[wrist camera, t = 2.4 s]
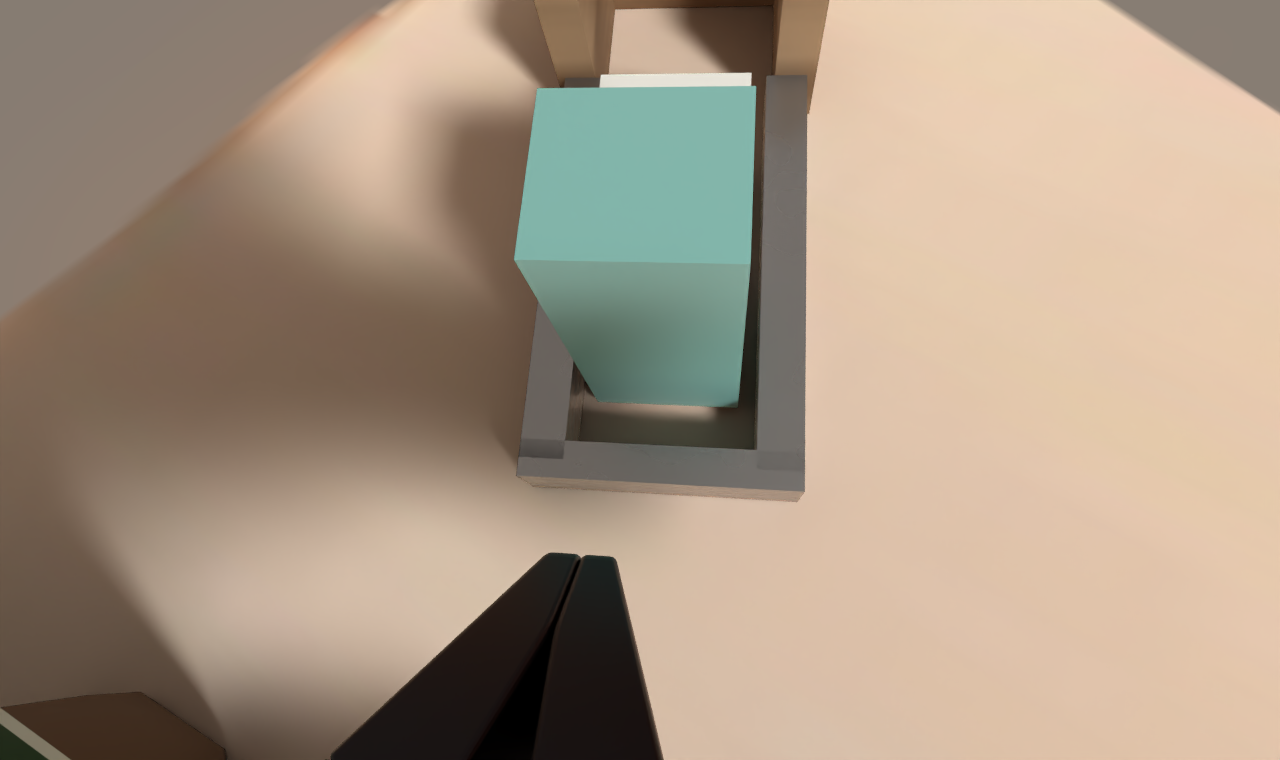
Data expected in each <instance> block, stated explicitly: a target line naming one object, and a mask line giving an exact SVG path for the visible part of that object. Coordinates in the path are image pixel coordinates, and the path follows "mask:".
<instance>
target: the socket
mask: <svg viewBox="0 0 1280 760" xmlns="http://www.w3.org/2000/svg"><path fill="white" fill-rule="evenodd" d="M534 3H535V6H536V10H537V13H538V16H539V19H540V23H541V26H542V29H543V32H544V36H545V39H546V42H547V45H548V49H549V52H550V55H551V59H552V62H553V65H554V68H555V72H556V75H557V78H558V81H559V85H560V88H564V85H565V78H601V75H608V72H609V62H610V53H611V43H612V33H613V23H614V14H615V9H635V8H677V7H719V6H761V5H774V12H773V54H772V75H807V114H809V110H810V104H811V99H812V93H813V88H814V82H815V77H816V71H817V66H818V60H819V54H820V49H821V43H822V38H823V32H824V27H825V21H826V16H827V10H828V4H829V0H534Z"/></svg>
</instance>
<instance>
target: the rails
mask: <svg viewBox="0 0 1280 760" xmlns="http://www.w3.org/2000/svg"><path fill="white" fill-rule="evenodd" d="M564 88H600V78H565V85H564ZM806 197H807V75H767V78H766V89H765V100H764V112H763V143H762V180H761V217H760V254H759V290H758V327H757V364H756V401H755V437H754V450H747V449H727V448H707V447H687V446H667V445H646V444H626V443H606V442H586V441H579V437H580V427H581V417H582V407H583V397H584V387H585V379H584V377H583V376H582V374H581V372H580V371H579V369H578V367H577V366H576V364H575V362H574V360H573V359H572V357H571V355H570V354H569V352H568V350H567V349H566V347H565V345H564V344H563V342H562V340H561V339H560V337H559V335H558V333H557V332H556V330H555V328H554V327H553V325H552V323H551V322H550V320H549V318H548V317H547V315H546V313H545V311H544V310H543V308H542V306H541V305H540V303H539V301H538V303H537V312H536V320H535V328H534V336H533V344H532V352H531V360H530V368H529V376H528V385H527V393H526V401H525V409H524V417H523V425H522V433H521V441H520V449H519V457H518V466H517V474H516V476H518V477H519V478H521V479H522V480H524V481H525V482H527V483H528V484H530V485H531V486H533V487H550V488H567V489H584V490H602V491H619V492H636V493H654V494H671V495H688V496H705V497H723V498H740V499H757V500H775V501H792V502H797V501H798V500H799V499H800V497H801V496H802V495H803V493H804V492H805V352H806Z"/></svg>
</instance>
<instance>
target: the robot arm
mask: <svg viewBox="0 0 1280 760" xmlns="http://www.w3.org/2000/svg"><path fill="white" fill-rule="evenodd" d="M325 760H328V759H325ZM331 760H664V759H663V754H662V750H661V746H660V742H659V738H658V733H657V729H656V725H655V721H654V716H653V712H652V708H651V704H650V700H649V695H648V691H647V687H646V683H645V679H644V674H643V670H642V666H641V662H640V658H639V653H638V649H637V645H636V641H635V636H634V632H633V628H632V624H631V620H630V615H629V611H628V607H627V603H626V599H625V594H624V590H623V586H622V582H621V578H620V573H619V569H618V565H617V561H616V560H615V558H613V557H610V556H595V555H586V556H584V557H582V559H581V557H580V556H578V555H577V554H567V553H548V554H546V555H545V556H543V557H542V558H541V559H540V560H539V561H538V562H537V563H536V564H535V565H534V566H532V567H531V568H530V569H529V570H528V571H527V572H526V573H525V574H524V575H523V576H522V577H521V578H520V579H519V580H517V581H516V582H515V583H514V584H513V585H512V586H511V587H510V588H509V589H508V590H507V591H506V592H505V593H503V594H502V595H501V596H500V597H499V598H498V599H497V600H496V601H495V602H494V603H493V604H492V605H491V606H489V607H488V608H487V609H486V610H485V611H484V612H483V613H482V614H481V615H480V616H479V617H478V618H477V619H475V620H474V621H473V622H472V623H471V624H470V625H469V626H468V627H467V628H466V629H465V630H464V631H463V632H461V633H460V634H459V635H458V636H457V637H456V638H455V639H454V640H453V641H452V642H451V643H450V644H449V645H448V646H446V647H445V648H444V649H443V650H442V651H441V652H440V653H439V654H438V655H437V656H436V657H435V658H434V659H432V660H431V661H430V662H429V663H428V664H427V665H426V666H425V667H424V668H423V669H422V670H421V671H420V672H418V673H417V674H416V675H415V676H414V677H413V678H412V679H411V680H410V681H409V682H408V683H407V684H406V685H404V686H403V687H402V688H401V689H400V690H399V691H398V692H397V693H396V694H395V695H394V696H393V697H392V698H390V699H389V700H388V701H387V702H386V703H385V704H384V705H383V706H382V707H381V708H380V709H379V710H378V711H376V712H375V713H374V714H373V715H372V716H371V717H370V718H369V719H368V720H367V721H366V722H365V723H364V724H363V725H361V726H360V727H359V728H358V729H357V730H356V731H355V732H354V733H353V734H352V735H351V736H350V737H349V738H347V739H346V740H345V741H344V742H343V743H342V744H341V745H340V746H339V747H338V748H337V749H336V750H335V751H333V752H332V754H331Z"/></svg>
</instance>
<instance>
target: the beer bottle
mask: <svg viewBox="0 0 1280 760" xmlns="http://www.w3.org/2000/svg"><path fill="white" fill-rule="evenodd" d="M0 760H226V755H225V749H223V748H222V747H220V746H219V745H218V744H216V743H215V742H213V741H212V740H210V739H209V738H207V737H206V736H204V735H203V734H201V733H200V732H199V731H197V730H196V729H194V728H193V727H191V726H190V725H188V724H187V723H185V722H184V721H182V720H181V719H180V718H178V717H177V716H175V715H174V714H172V713H171V712H169V711H168V710H166V709H165V708H163V707H162V706H161V705H159V704H158V703H156V702H155V701H153V700H152V699H150V698H149V697H147V696H146V695H144V694H143V693H141V692H131V693H116V694H100V695H86V696H79V697H72V698H65V699H58V700H51V701H43V702H36V703H29V704H22V705H15V706H8V707H1V708H0Z"/></svg>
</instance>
